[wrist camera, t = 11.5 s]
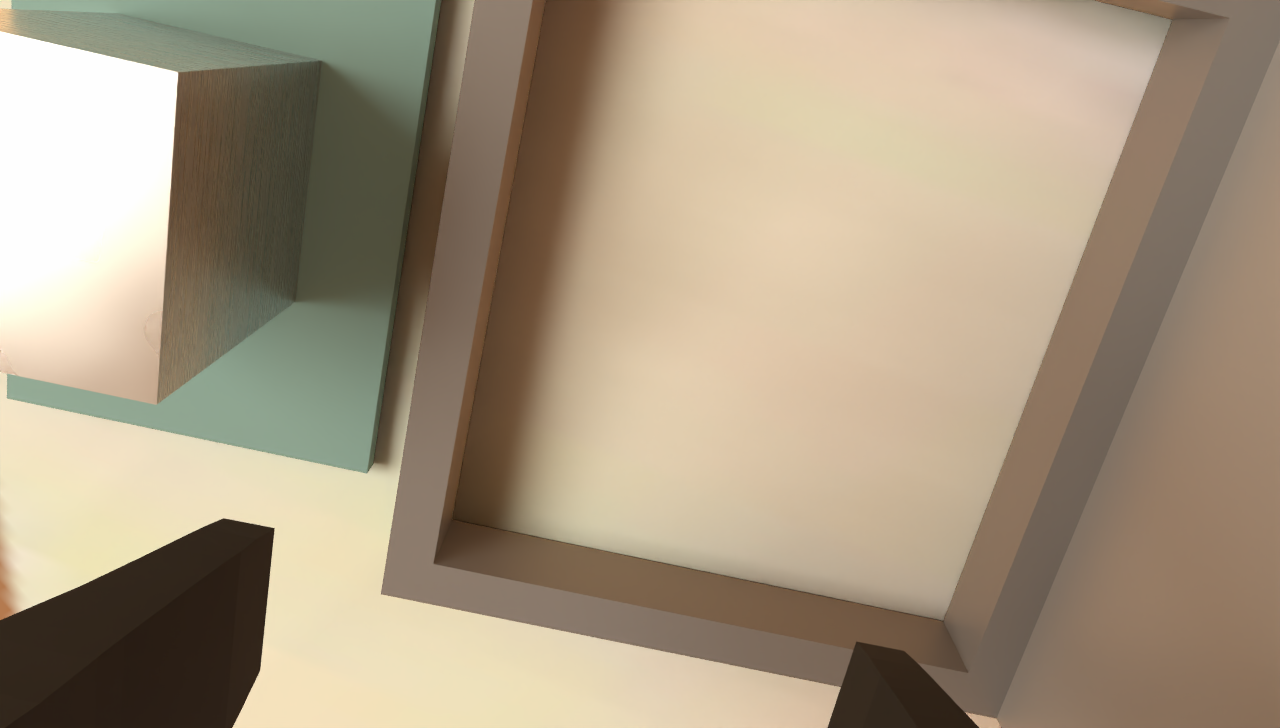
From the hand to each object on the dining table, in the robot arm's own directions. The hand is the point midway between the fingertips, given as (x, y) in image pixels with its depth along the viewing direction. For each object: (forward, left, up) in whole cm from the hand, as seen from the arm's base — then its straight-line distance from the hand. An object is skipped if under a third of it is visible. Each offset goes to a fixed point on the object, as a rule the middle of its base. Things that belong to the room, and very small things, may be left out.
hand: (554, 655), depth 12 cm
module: (+3, +9, -10) cm, 13 cm away
